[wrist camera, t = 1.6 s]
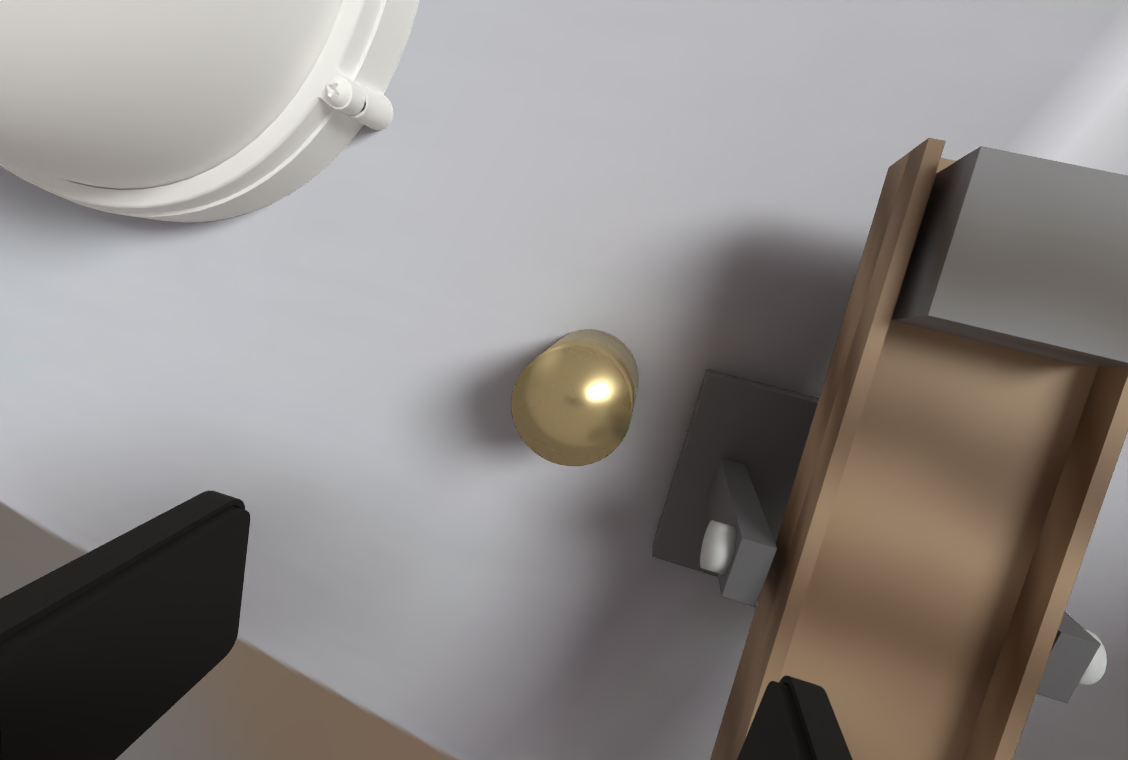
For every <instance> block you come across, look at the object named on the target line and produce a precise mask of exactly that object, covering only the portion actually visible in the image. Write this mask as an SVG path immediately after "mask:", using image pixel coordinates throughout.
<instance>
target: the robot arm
mask: <svg viewBox="0 0 1128 760" xmlns="http://www.w3.org/2000/svg"><path fill="white" fill-rule="evenodd" d="M249 526H250V514H249V512H248V511H246V510H245V505H244V503H243V501H241V500H240V499H237V498H234V497H231V496H228V495H224V494H221V493H218V492H215V491H206V492H203V493H201V494H199V495H197V496H195V497H193V498H191V499H190V500H188V501H186V502H184V503H182V504H180V505H178V506H176V507H174V508H172V509H171V510H169V511H167V512H165V513H163V514H161V515H159V516H157V517H155V518H153V519H151V520H150V521H148V522H146V523H144V524H142V525H140V526H138V527H136V528H134V529H132V530H131V531H129V532H127V533H125V534H123V535H121V536H119V537H117V538H115V539H113V540H111V541H110V542H108V543H106V544H104V545H102V546H100V547H98V548H96V549H94V550H92V551H90V552H89V553H87V554H85V555H83V556H81V557H79V558H77V559H75V560H73V561H71V562H70V563H68V564H66V565H64V566H62V567H60V568H58V569H56V570H55V571H52V572H50V573H49V574H47V575H45V576H43V577H41V578H39V579H37V580H35V581H33V582H31V583H30V584H28V585H26V586H24V587H22V588H20V589H18V590H16V591H14V592H13V593H11V594H9V595H7V596H5V597H3V598H1V599H0V760H115V759H116V758H117V757H118V756H119V755H120V754H122V753H123V752H124V751H125V750H126V749H127V748H128V747H129V746H130V745H131V744H132V743H133V742H135V741H136V740H137V739H138V738H139V737H140V736H141V735H142V734H143V733H144V732H145V731H146V730H147V729H148V728H150V727H151V726H152V725H153V724H154V723H155V722H156V721H157V720H158V719H159V718H160V717H161V716H162V715H163V714H164V713H166V712H167V711H168V710H169V709H170V708H171V707H172V706H173V705H174V704H175V703H176V702H177V701H178V700H179V699H180V698H182V697H183V696H184V695H185V694H186V693H187V692H188V691H189V690H190V689H191V688H192V687H193V686H194V685H196V683H198V682H199V681H200V680H201V679H202V678H203V677H204V676H205V675H206V674H207V673H208V672H209V671H211V670H212V669H213V668H214V667H215V666H216V665H217V664H218V663H219V662H220V661H221V660H222V659H223V658H224V657H225V656H226V655H227V654H228V653H229V652H230V650H231V649H232V647H233V645H234V643H235V641H236V638H237V635H238V627H239V618H240V609H241V600H242V590H243V581H244V572H245V563H246V553H247V544H248V535H249ZM737 760H853V759H852V757H851V754H850V752H849V749H848V747H847V744H846V742H845V739H844V736H843V734H842V731H841V729H840V726H839V724H838V721H837V719H836V716H835V713H834V711H833V708H832V706H831V703H830V701H829V698H828V696H827V693H826V691H825V690H824V688H822V687H821V686H819V685H816V684H813V683H810V682H806V681H803V680H800V679H797V678H794V677H791V676H788V675H787V676H784V677H783V678H781V680H780V682H779V683H778V682H775V681H771V682H770V683H769V684H768V686H767V688H766V690H765V692H764V695H763V697H762V700H761V702H760V704H759V707H758V709H757V712H756V714H755V717H754V719H753V721H752V724H751V726H750V729H749V731H748V734H747V736H746V738H745V741H744V743H743V746H742V748H741V751H740V753H739V755H738V758H737Z"/></svg>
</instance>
